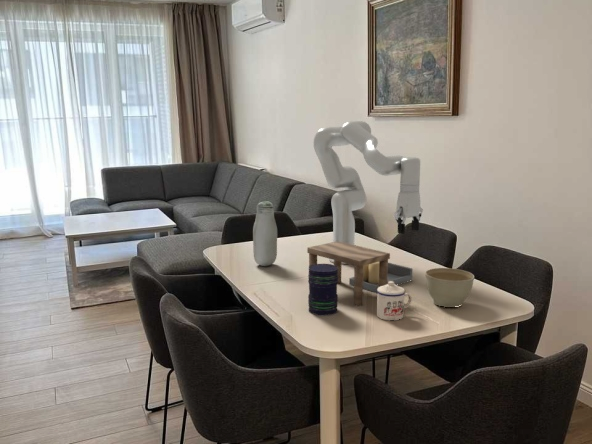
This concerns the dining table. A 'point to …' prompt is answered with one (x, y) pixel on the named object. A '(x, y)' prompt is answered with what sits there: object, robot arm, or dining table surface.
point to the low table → (352, 262)
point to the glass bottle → (265, 235)
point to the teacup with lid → (391, 301)
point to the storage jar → (323, 289)
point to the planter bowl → (449, 286)
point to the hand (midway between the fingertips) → (408, 231)
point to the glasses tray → (394, 274)
